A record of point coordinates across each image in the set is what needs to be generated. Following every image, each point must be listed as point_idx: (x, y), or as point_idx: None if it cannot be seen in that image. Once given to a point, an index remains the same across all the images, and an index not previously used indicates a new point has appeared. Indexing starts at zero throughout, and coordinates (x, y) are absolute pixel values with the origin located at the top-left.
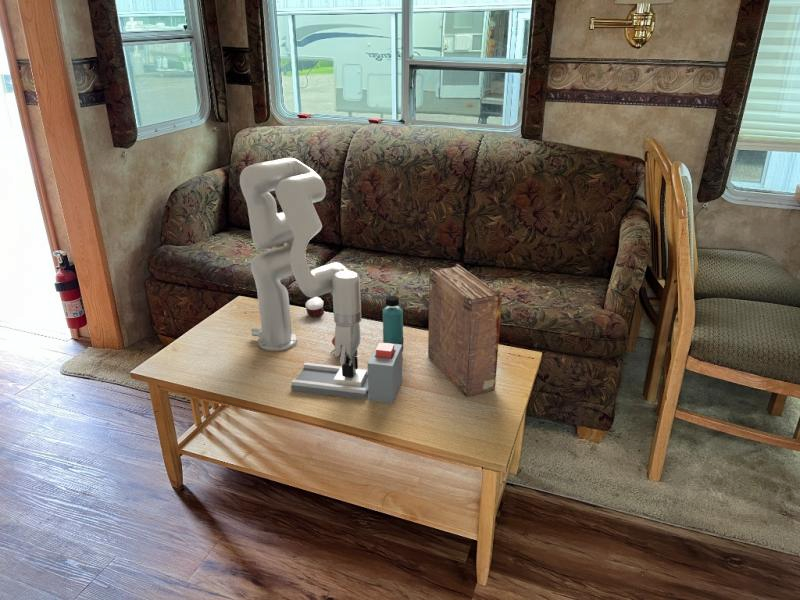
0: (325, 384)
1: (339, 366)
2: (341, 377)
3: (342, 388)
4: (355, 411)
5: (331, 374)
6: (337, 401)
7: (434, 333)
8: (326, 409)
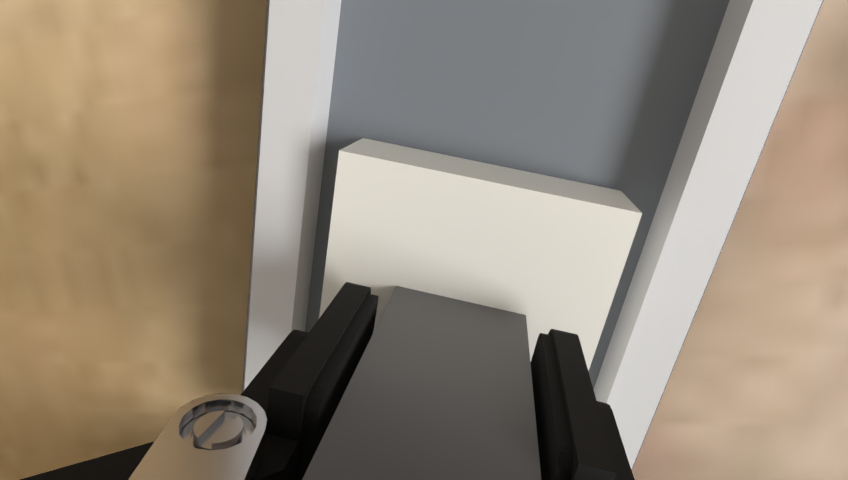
0: (290, 43)
1: (750, 176)
2: (388, 247)
3: (257, 249)
4: (105, 332)
5: (620, 71)
6: (203, 182)
7: None
8: (71, 97)
